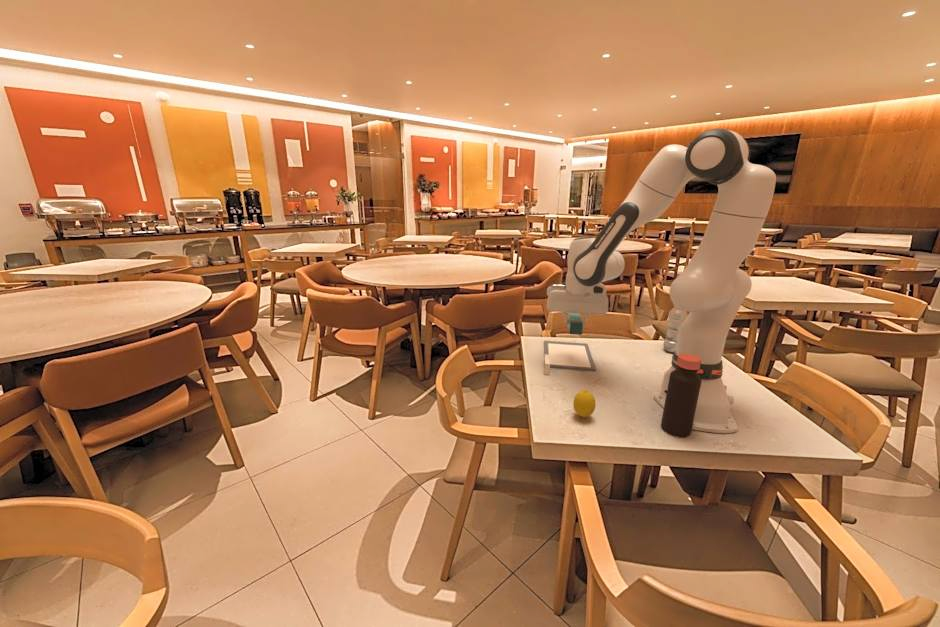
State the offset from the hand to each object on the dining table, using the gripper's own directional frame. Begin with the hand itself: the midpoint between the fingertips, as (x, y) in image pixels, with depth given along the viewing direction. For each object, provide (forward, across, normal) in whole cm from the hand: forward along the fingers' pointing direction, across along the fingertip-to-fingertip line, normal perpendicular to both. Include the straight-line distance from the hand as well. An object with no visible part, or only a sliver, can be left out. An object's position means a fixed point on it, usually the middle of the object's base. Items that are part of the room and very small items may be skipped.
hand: (574, 324), depth 130 cm
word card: (+14, -9, -8) cm, 19 cm away
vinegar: (+14, +23, -38) cm, 46 cm away
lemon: (+14, 0, -36) cm, 39 cm away
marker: (+2, 0, +1) cm, 2 cm away
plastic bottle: (+14, +39, +18) cm, 45 cm away
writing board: (+14, -1, +6) cm, 15 cm away
